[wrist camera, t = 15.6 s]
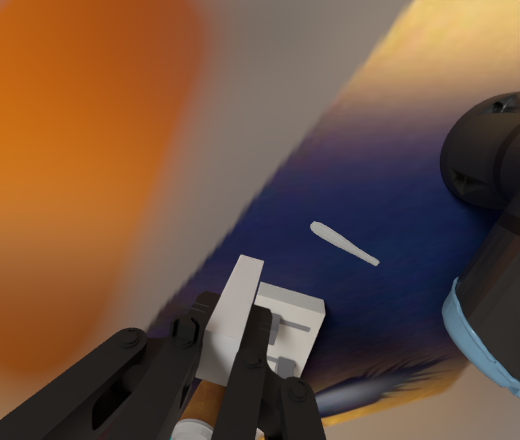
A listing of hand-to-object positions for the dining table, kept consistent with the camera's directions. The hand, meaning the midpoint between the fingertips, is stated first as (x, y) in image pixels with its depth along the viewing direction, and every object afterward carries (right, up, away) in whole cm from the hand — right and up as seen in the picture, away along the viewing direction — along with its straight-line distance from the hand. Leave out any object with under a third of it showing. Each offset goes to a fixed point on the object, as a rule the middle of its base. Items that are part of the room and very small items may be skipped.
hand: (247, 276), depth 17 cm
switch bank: (+4, -21, +38) cm, 43 cm away
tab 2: (+5, -23, +33) cm, 41 cm away
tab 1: (+2, -14, +30) cm, 34 cm away
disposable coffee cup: (-10, -35, +45) cm, 58 cm away
